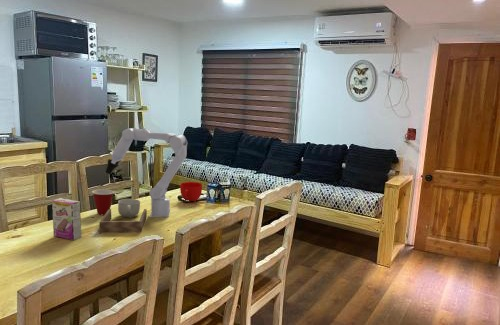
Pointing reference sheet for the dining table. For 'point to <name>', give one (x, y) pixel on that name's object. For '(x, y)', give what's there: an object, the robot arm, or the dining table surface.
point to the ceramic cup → (191, 190)
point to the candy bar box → (66, 218)
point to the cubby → (121, 224)
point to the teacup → (128, 207)
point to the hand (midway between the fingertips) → (109, 170)
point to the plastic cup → (103, 200)
